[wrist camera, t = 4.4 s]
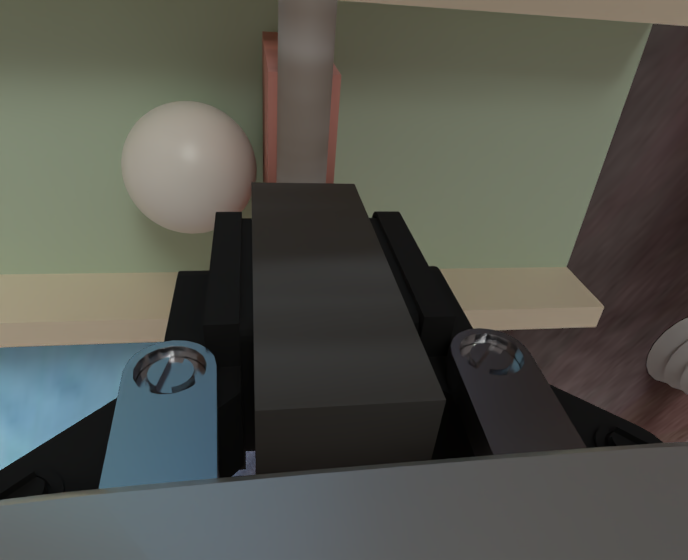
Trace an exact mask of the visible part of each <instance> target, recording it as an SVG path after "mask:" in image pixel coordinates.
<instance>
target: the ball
mask: <svg viewBox="0 0 688 560" xmlns="http://www.w3.org/2000/svg"><path fill="white" fill-rule="evenodd" d="M121 169H122V177H123V181H124V184H125V187H126V189H127V192H128V194H129V196H130V198H131V199H132V201H133V202H134V204H135V205H136V206H137V208H138V209H139V210H140V211H141V212H142V213H143V214H144V215H145V216H146V217H148V218H149V219H150V220H152V221H153V222H155V223H156V224H158V225H160V226H162V227H164V228H166V229H169V230H172V231H176V232H180V233H189V234H196V233H205V232H210V231H213V230H214V223H215V215H216V212H242V211H243V210H244V208H245V207H246V205H247V204H248V202H249V200H250V198H251V182H256V174H257V167H256V159H255V155H254V151H253V148H252V146H251V143H250V141H249V139H248V137H247V136H246V134H245V133H244V131H243V130H242V128H241V127H240V126H239V125H238V124H237V123H236V122H235V121H234V120H233V119H232V118H231V117H229V116H228V115H227V114H225V113H224V112H223V111H221V110H219V109H217V108H215V107H213V106H210V105H207V104H204V103H200V102H195V101H175V102H170V103H166V104H163V105H160V106H158V107H156V108H154V109H152V110H150V111H149V112H147V113H146V114H145V115H144V116H142V117H141V118H140V119H139V120H138V121H137V122H136V123H135V125H134V126H133V127H132V129H131V130H130V132H129V134H128V136H127V138H126V140H125V143H124V146H123V150H122V157H121Z"/></svg>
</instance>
